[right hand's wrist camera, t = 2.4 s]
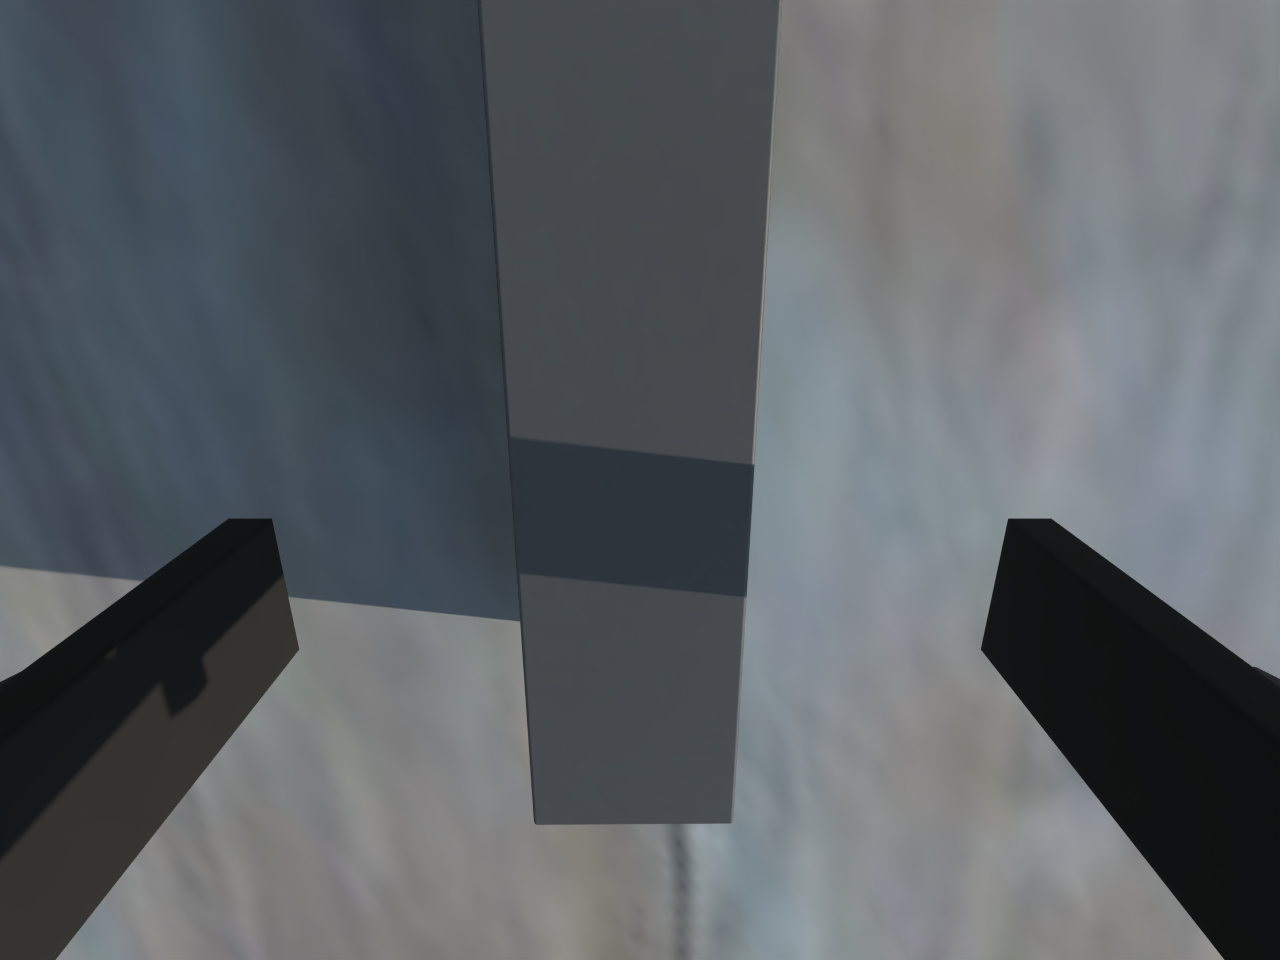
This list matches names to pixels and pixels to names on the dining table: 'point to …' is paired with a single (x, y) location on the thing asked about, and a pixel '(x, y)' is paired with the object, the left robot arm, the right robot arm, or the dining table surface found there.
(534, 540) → the post
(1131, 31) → the dining table surface
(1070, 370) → the dining table surface
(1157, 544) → the dining table surface
